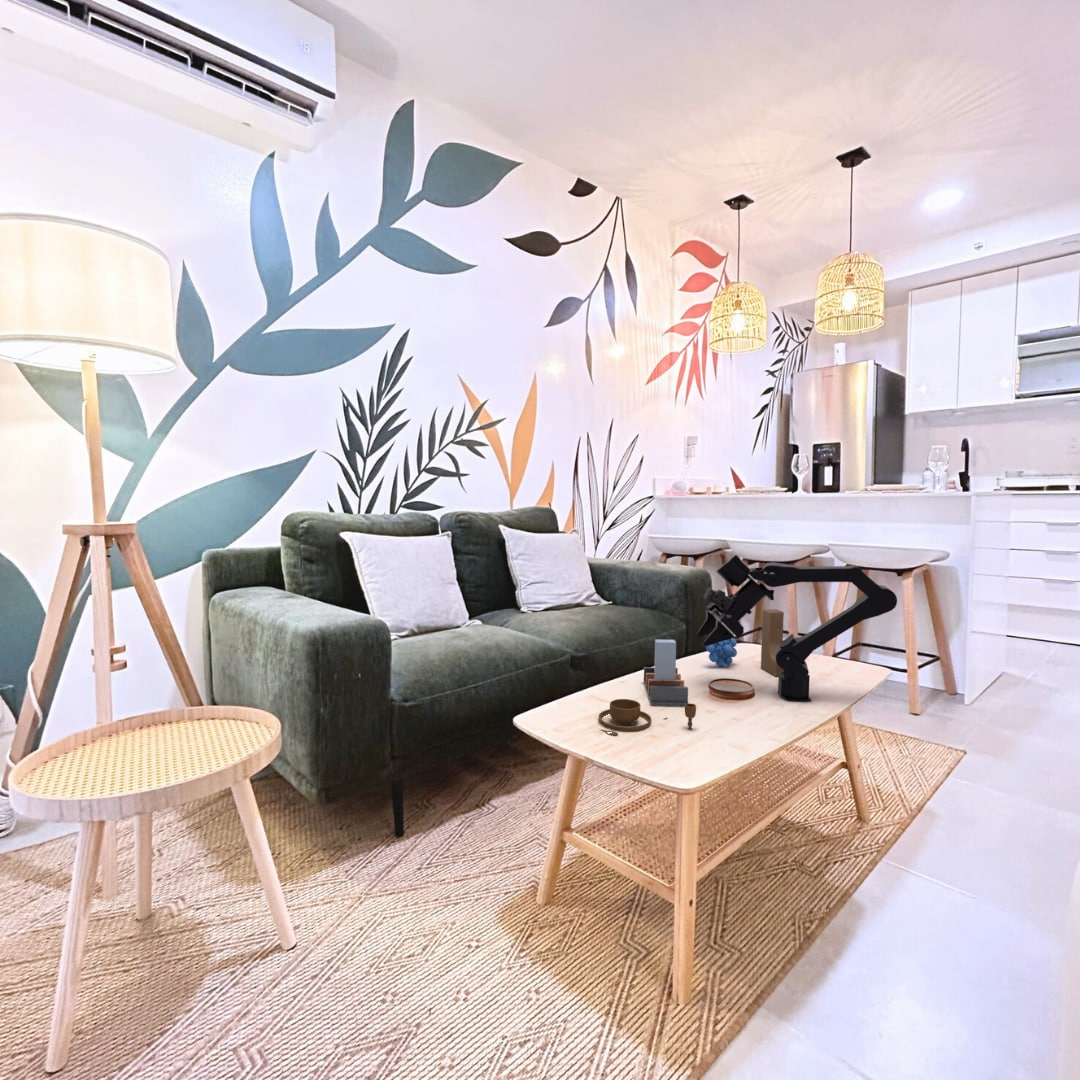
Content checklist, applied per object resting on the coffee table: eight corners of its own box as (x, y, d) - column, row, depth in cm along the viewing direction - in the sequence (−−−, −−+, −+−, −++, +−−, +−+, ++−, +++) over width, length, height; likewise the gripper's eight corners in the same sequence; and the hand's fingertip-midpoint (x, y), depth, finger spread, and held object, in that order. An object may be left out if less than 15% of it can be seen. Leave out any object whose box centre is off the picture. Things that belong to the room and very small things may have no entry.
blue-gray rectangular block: (673, 688, 159) (674, 639, 158) (675, 692, 156) (676, 642, 155) (654, 688, 159) (655, 639, 158) (655, 691, 156) (656, 642, 155)
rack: (676, 683, 167) (676, 667, 166) (688, 707, 148) (688, 689, 148) (643, 682, 167) (643, 666, 167) (651, 706, 149) (651, 688, 148)
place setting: (627, 708, 149) (627, 684, 148) (700, 730, 135) (700, 704, 134) (580, 727, 136) (580, 702, 136) (655, 754, 122) (656, 725, 122)
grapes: (715, 672, 177) (716, 632, 176) (700, 667, 183) (701, 627, 182) (746, 668, 182) (747, 628, 181) (730, 662, 188) (731, 624, 187)
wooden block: (790, 676, 173) (792, 614, 172) (775, 677, 172) (777, 615, 171) (774, 667, 182) (776, 608, 181) (760, 668, 181) (762, 609, 180)
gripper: (715, 573, 167) (673, 612, 168) (731, 583, 148) (685, 626, 150) (743, 601, 167) (701, 640, 168) (763, 615, 148) (716, 658, 150)
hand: (700, 640), depth 159 cm, fingers open, 9 cm apart
